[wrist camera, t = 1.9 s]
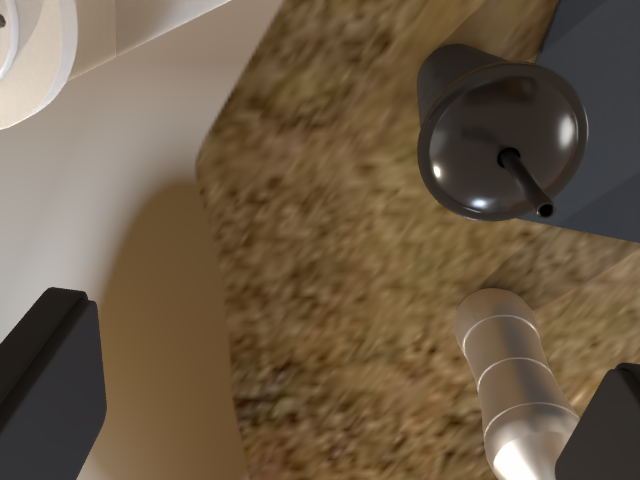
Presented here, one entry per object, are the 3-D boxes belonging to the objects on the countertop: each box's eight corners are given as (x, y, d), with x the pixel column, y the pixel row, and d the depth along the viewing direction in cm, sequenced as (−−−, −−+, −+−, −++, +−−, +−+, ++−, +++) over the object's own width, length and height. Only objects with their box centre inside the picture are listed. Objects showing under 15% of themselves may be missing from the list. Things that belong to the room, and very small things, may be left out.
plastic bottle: (493, 348, 47) (574, 583, 30) (433, 316, 46) (481, 543, 29) (543, 300, 44) (665, 530, 27) (481, 264, 43) (567, 482, 26)
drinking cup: (529, 37, 34) (710, 136, 17) (483, 145, 38) (593, 316, 21) (417, 6, 34) (487, 76, 16) (382, 119, 37) (408, 272, 20)
